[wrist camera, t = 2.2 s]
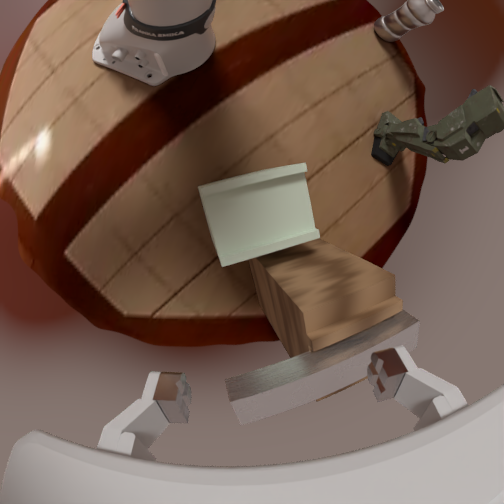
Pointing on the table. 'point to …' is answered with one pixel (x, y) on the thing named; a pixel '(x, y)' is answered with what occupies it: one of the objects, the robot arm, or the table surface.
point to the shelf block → (258, 213)
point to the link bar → (316, 370)
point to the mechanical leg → (443, 130)
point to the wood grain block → (321, 295)
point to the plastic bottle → (407, 18)
